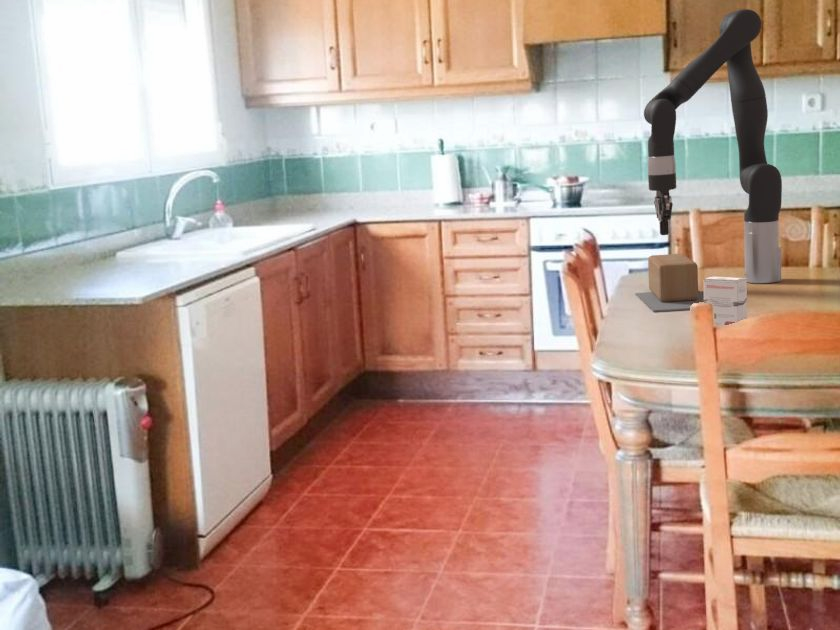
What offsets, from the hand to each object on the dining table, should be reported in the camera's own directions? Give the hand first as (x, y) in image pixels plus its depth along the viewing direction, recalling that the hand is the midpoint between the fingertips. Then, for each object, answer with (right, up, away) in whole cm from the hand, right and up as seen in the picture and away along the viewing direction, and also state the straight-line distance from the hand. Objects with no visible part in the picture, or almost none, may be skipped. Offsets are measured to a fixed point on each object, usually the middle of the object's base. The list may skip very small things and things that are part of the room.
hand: (664, 234), depth 295 cm
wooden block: (0, -10, -2) cm, 11 cm away
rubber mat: (-1, -19, -16) cm, 25 cm away
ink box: (+1, -26, -55) cm, 61 cm away
